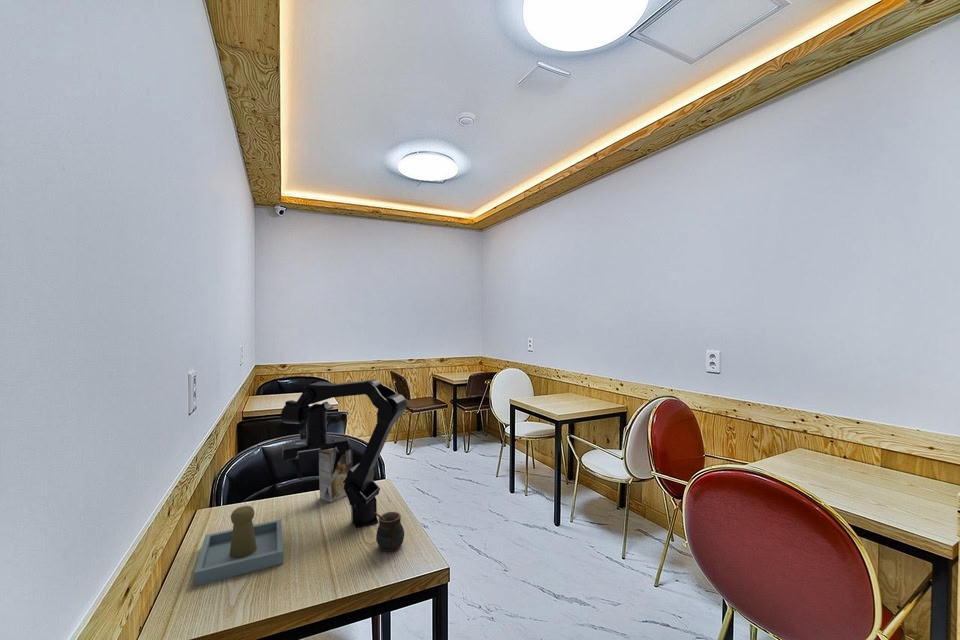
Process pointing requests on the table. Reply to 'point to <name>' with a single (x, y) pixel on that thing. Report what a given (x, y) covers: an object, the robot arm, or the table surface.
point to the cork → (242, 533)
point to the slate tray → (220, 565)
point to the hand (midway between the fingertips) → (317, 476)
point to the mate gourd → (389, 531)
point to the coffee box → (333, 482)
